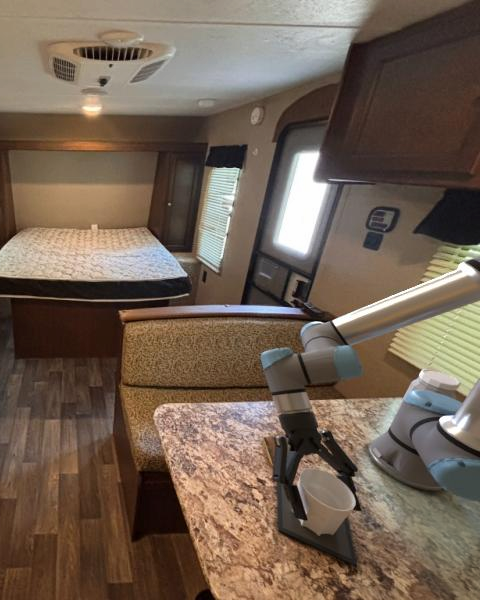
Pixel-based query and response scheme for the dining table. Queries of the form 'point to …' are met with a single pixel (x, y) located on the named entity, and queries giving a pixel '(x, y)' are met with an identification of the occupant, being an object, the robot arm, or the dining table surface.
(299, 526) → the mat
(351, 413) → the dining table surface
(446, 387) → the jar
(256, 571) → the dining table surface
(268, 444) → the shard
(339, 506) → the cup
